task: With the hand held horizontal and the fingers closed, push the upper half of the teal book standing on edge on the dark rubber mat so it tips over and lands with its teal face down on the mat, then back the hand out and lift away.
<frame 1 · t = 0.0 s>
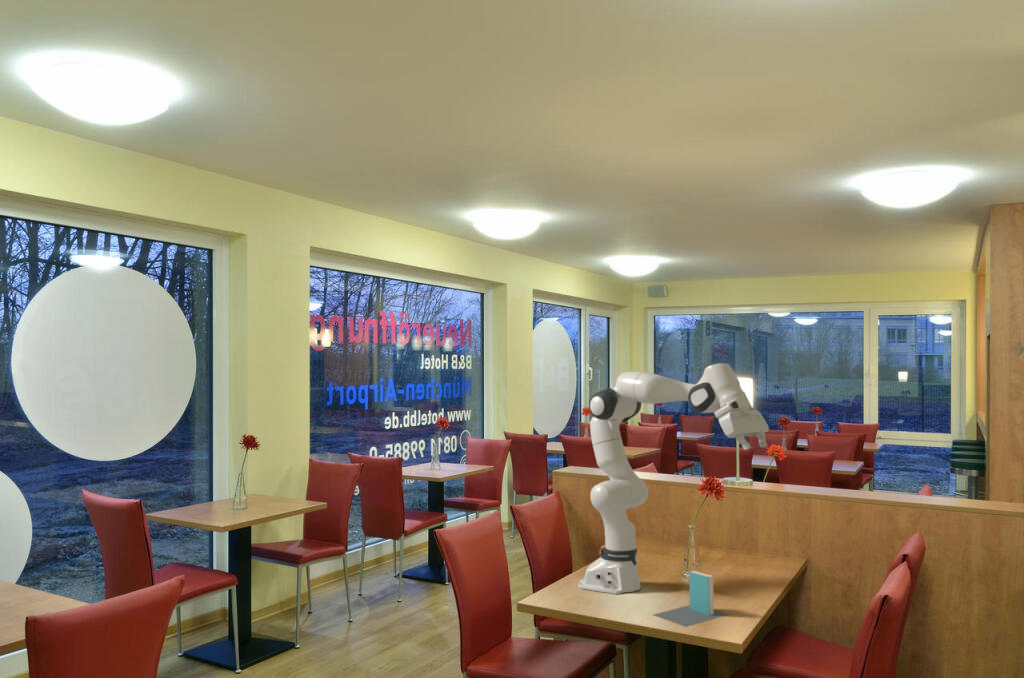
hand: (756, 447, 237), 54 cm above the table, tool tilted 30°, fingers open, 8 cm apart
teal book: (701, 611, 245), point 1 cm above the table, touching mat
mat: (690, 616, 242), on the table
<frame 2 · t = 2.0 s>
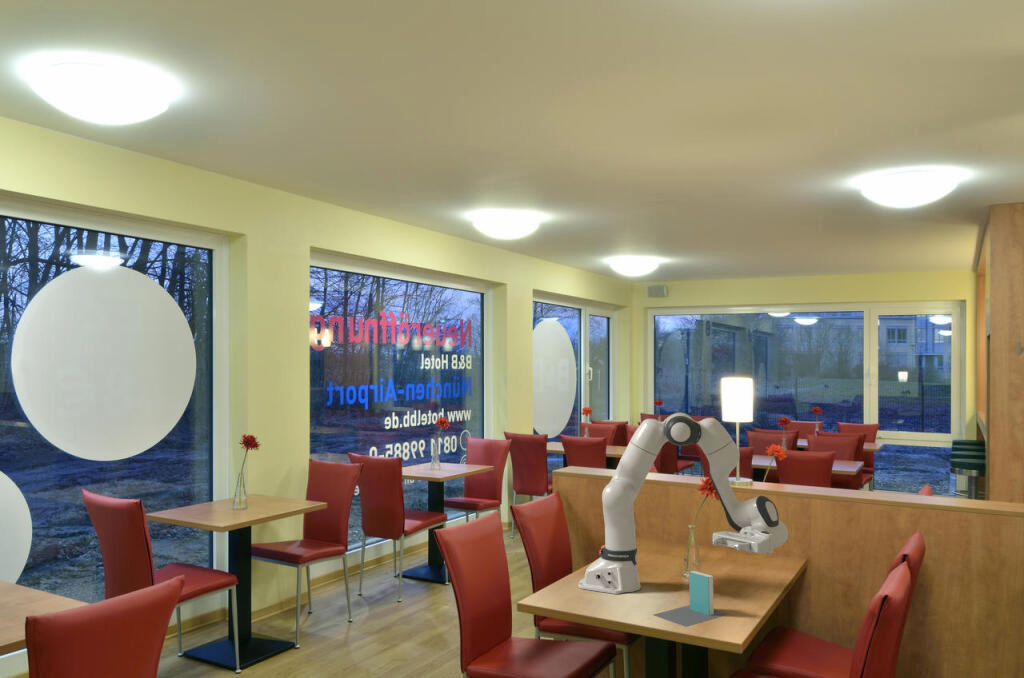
hand: (725, 545, 253), 20 cm above the table, tool horizontal, fingers open, 8 cm apart
nothing on the table moved.
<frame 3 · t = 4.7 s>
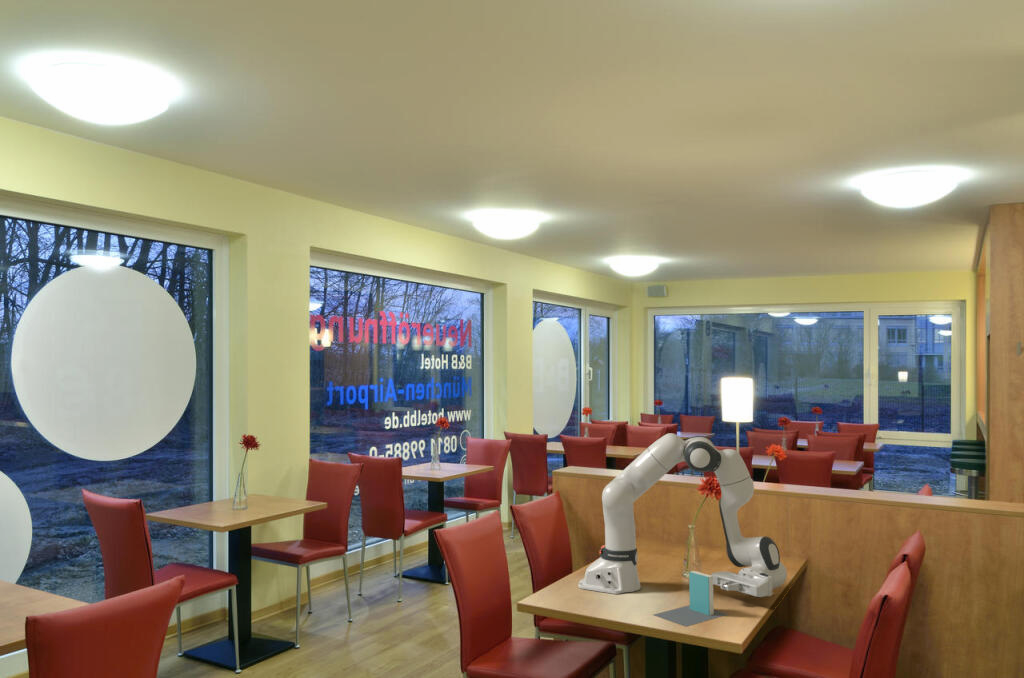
hand: (724, 587, 252), 6 cm above the table, tool horizontal, fingers closed
nothing on the table moved.
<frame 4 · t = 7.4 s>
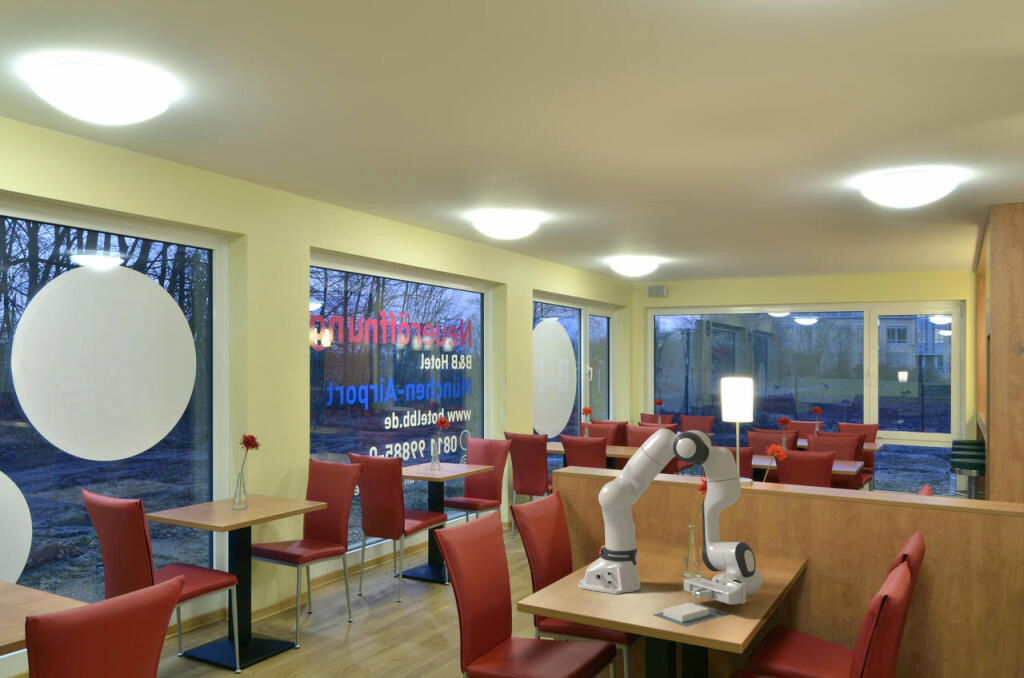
hand: (695, 594, 244), 6 cm above the table, tool horizontal, fingers closed
teal book: (698, 608, 244), point 2 cm above the table, tilted 90°, touching mat
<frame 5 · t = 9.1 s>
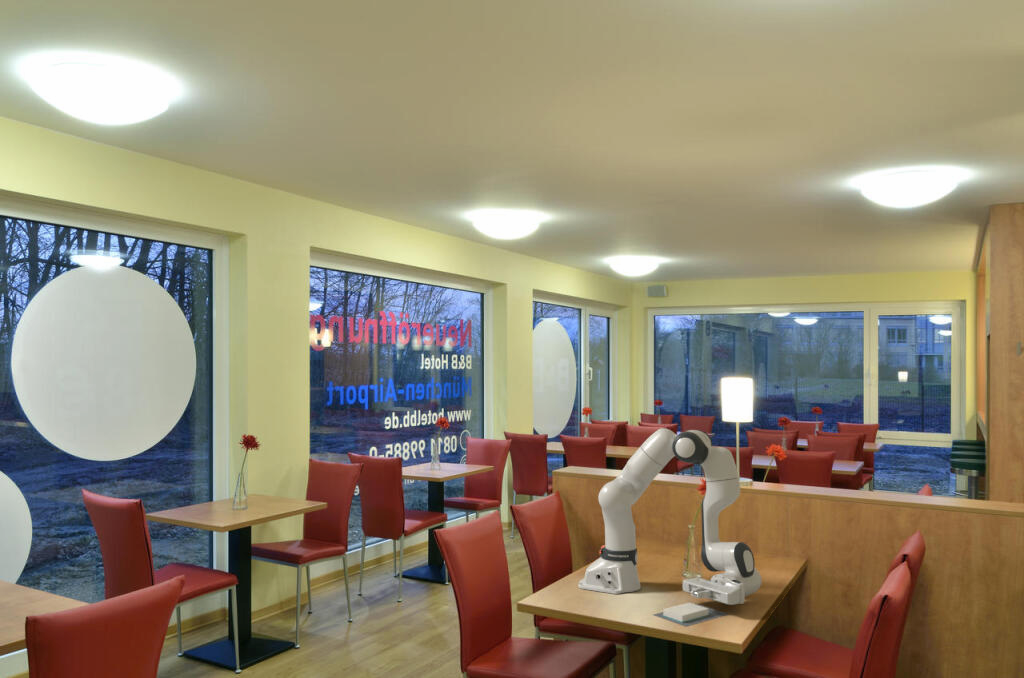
hand: (694, 594, 243), 7 cm above the table, tool horizontal, fingers closed
nothing on the table moved.
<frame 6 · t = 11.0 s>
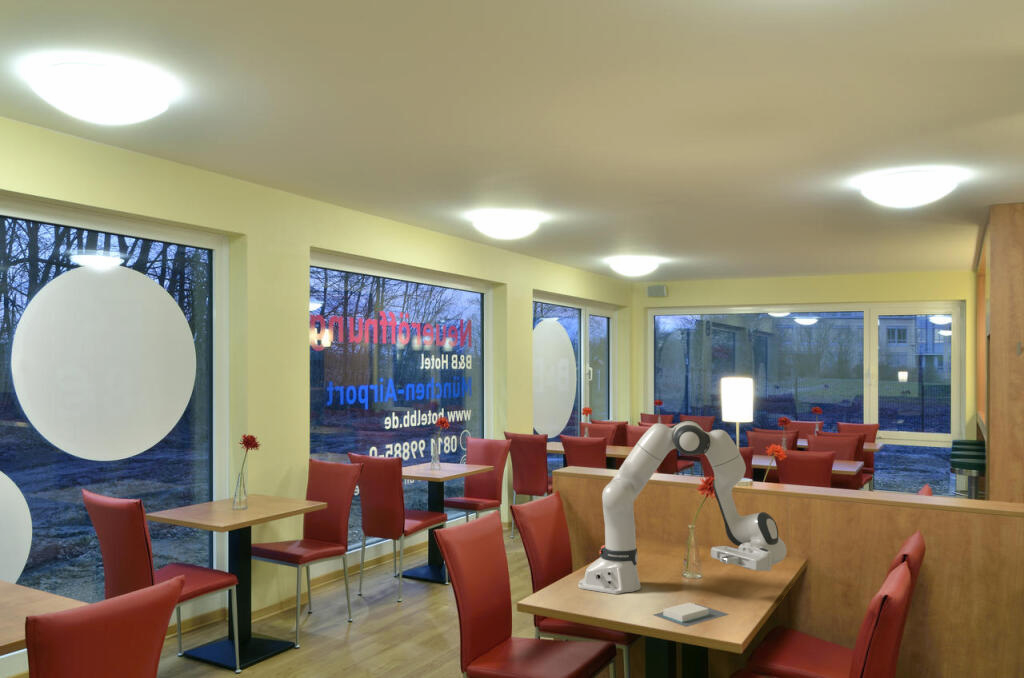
hand: (723, 560, 253), 15 cm above the table, tool horizontal, fingers closed
nothing on the table moved.
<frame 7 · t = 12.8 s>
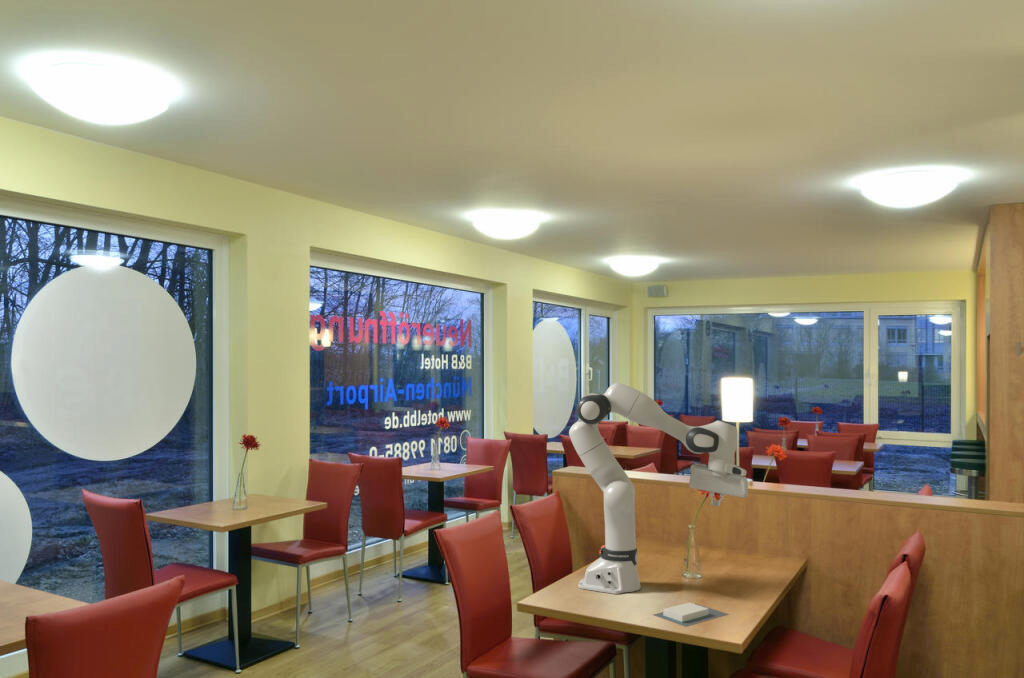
hand: (715, 505, 268), 30 cm above the table, tool pointing down, fingers closed
nothing on the table moved.
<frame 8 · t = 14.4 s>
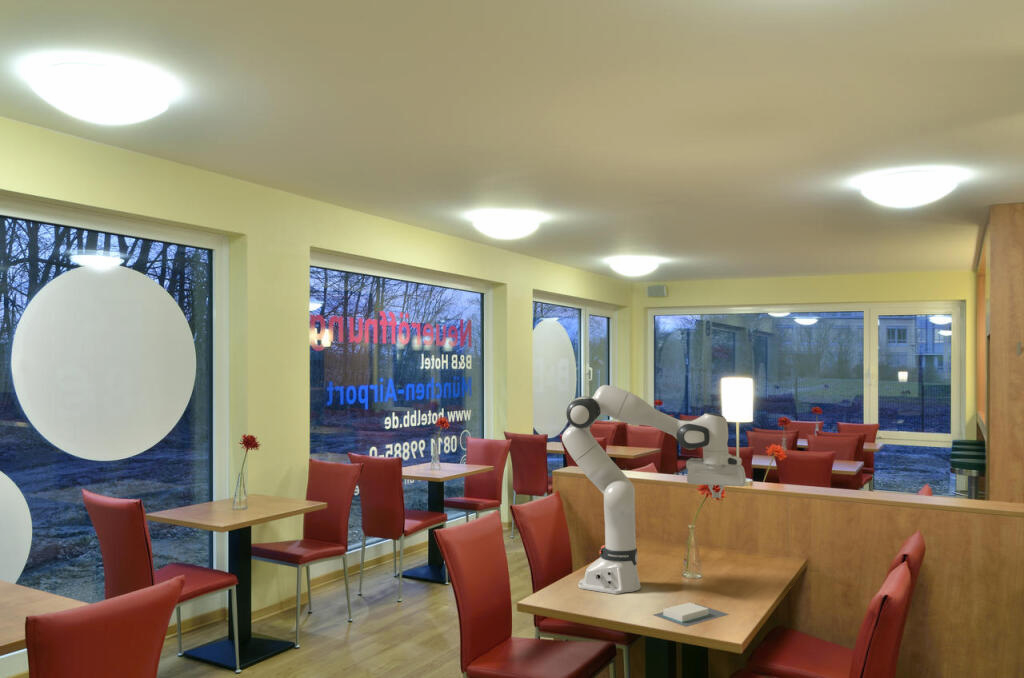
hand: (716, 497, 270), 33 cm above the table, tool pointing down, fingers closed
nothing on the table moved.
at the end: teal book tilted 90°; teal book 3.7 cm from the mat (horizontally); teal book point 1.7 cm above the table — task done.
